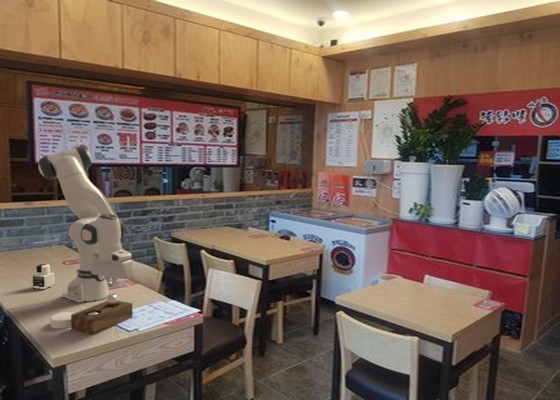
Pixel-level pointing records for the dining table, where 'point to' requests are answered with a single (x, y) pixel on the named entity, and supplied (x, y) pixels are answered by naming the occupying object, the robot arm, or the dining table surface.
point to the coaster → (61, 320)
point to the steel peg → (112, 300)
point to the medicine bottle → (43, 276)
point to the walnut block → (101, 317)
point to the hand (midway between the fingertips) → (112, 286)
